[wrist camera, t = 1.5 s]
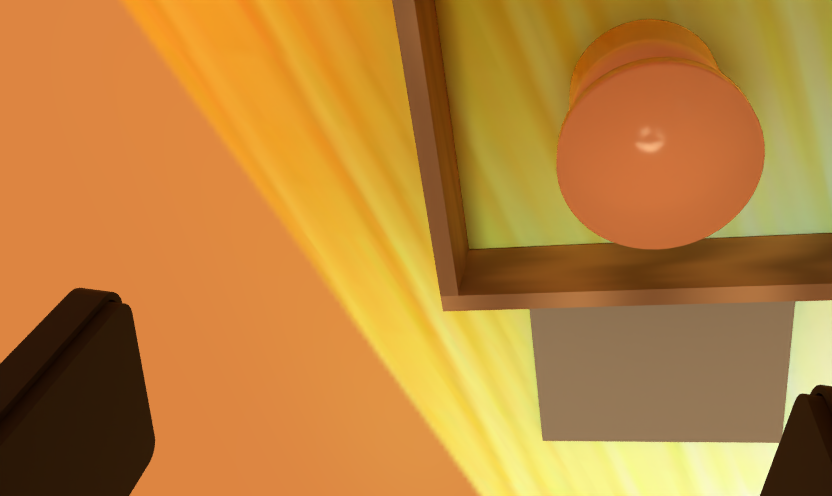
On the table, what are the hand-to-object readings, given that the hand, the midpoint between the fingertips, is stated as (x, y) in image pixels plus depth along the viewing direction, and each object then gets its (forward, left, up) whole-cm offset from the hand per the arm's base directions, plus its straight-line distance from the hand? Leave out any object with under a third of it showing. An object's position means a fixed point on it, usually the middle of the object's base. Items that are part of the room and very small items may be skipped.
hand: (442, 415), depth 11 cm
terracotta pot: (-4, +4, -25) cm, 25 cm away
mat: (-5, +19, -25) cm, 31 cm away
